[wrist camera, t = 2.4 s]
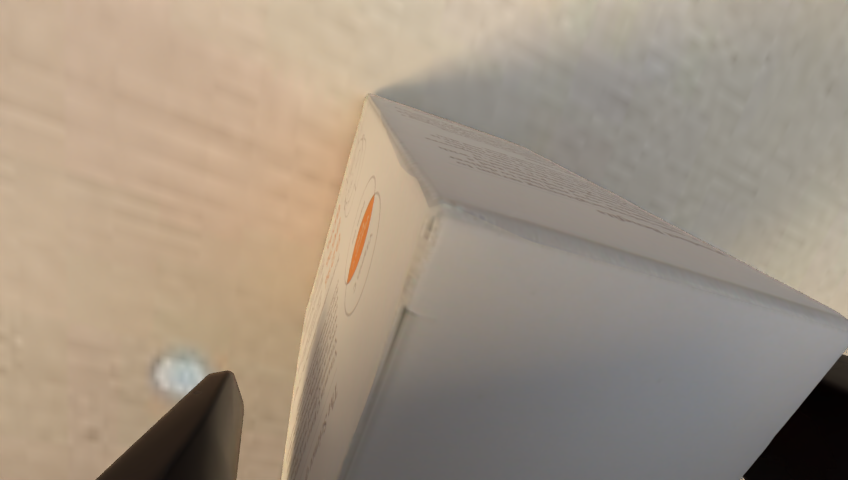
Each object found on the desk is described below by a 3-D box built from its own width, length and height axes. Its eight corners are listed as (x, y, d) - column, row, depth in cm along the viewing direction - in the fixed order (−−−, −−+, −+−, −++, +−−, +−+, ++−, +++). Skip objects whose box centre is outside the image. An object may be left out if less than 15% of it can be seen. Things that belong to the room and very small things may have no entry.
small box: (444, 336, 17) (574, 700, 8) (301, 309, 15) (239, 730, 6) (527, 143, 14) (891, 332, 5) (365, 85, 13) (439, 201, 3)
